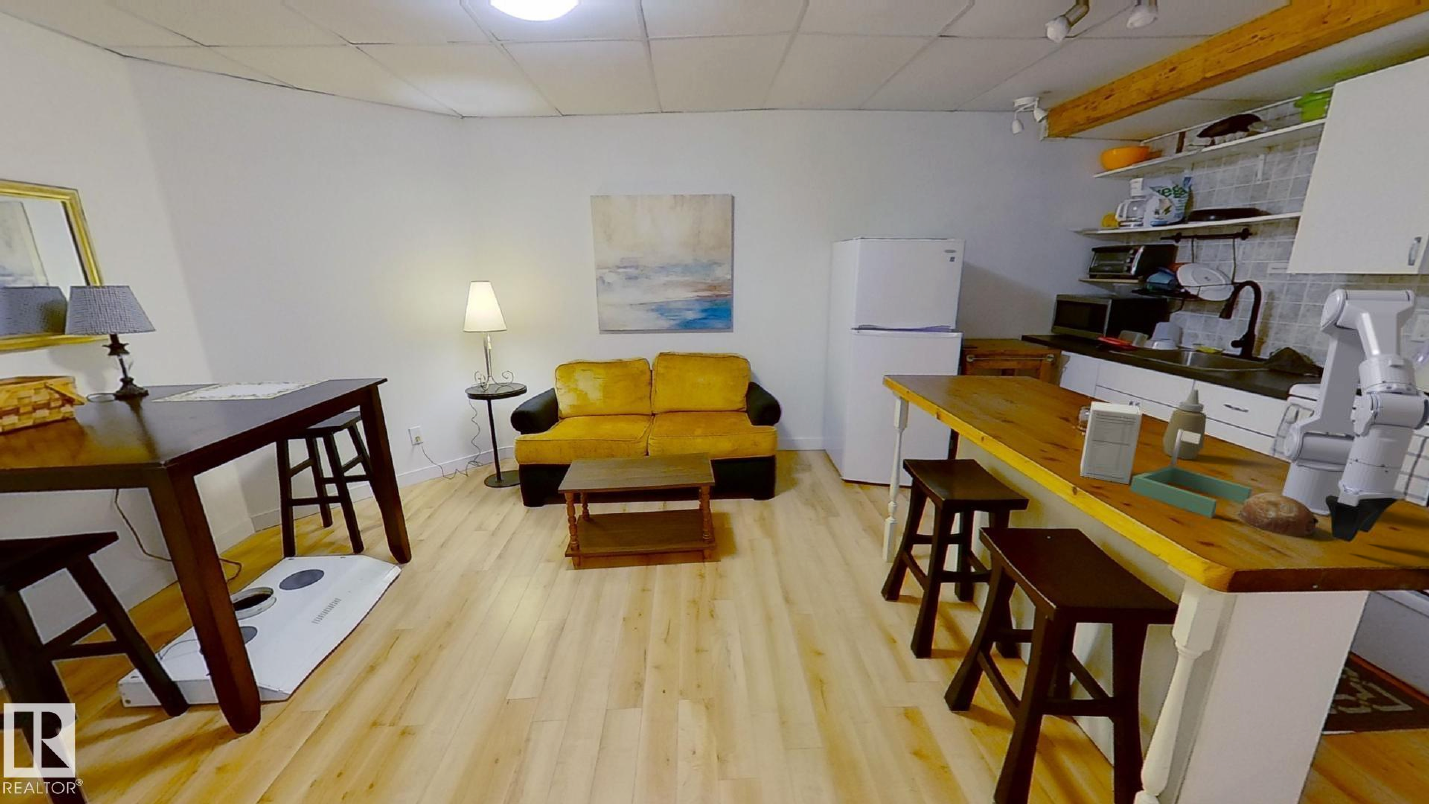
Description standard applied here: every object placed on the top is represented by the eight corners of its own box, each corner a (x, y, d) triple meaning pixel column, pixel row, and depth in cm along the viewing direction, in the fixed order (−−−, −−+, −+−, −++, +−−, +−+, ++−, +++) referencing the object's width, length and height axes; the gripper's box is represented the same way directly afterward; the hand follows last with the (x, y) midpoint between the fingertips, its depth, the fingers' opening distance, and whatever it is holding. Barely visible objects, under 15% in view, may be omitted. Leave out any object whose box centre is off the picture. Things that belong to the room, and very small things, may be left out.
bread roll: (1242, 527, 106) (1228, 490, 107) (1315, 521, 100) (1299, 481, 100) (1249, 546, 99) (1233, 506, 99) (1328, 541, 92) (1311, 498, 93)
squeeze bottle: (1152, 450, 141) (1166, 386, 137) (1185, 451, 140) (1200, 387, 135) (1173, 460, 133) (1189, 393, 129) (1208, 462, 132) (1225, 394, 128)
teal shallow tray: (1167, 479, 121) (1179, 428, 118) (1248, 503, 109) (1263, 447, 106) (1129, 491, 115) (1141, 437, 112) (1210, 517, 102) (1225, 458, 99)
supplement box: (1126, 472, 125) (1140, 405, 121) (1130, 485, 118) (1145, 414, 114) (1079, 464, 131) (1091, 400, 127) (1079, 476, 123) (1091, 408, 119)
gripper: (1396, 477, 81) (1369, 554, 85) (1427, 463, 87) (1401, 535, 91) (1330, 462, 87) (1307, 535, 91) (1363, 450, 93) (1341, 519, 97)
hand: (1350, 534), depth 91 cm, fingers open, 7 cm apart
